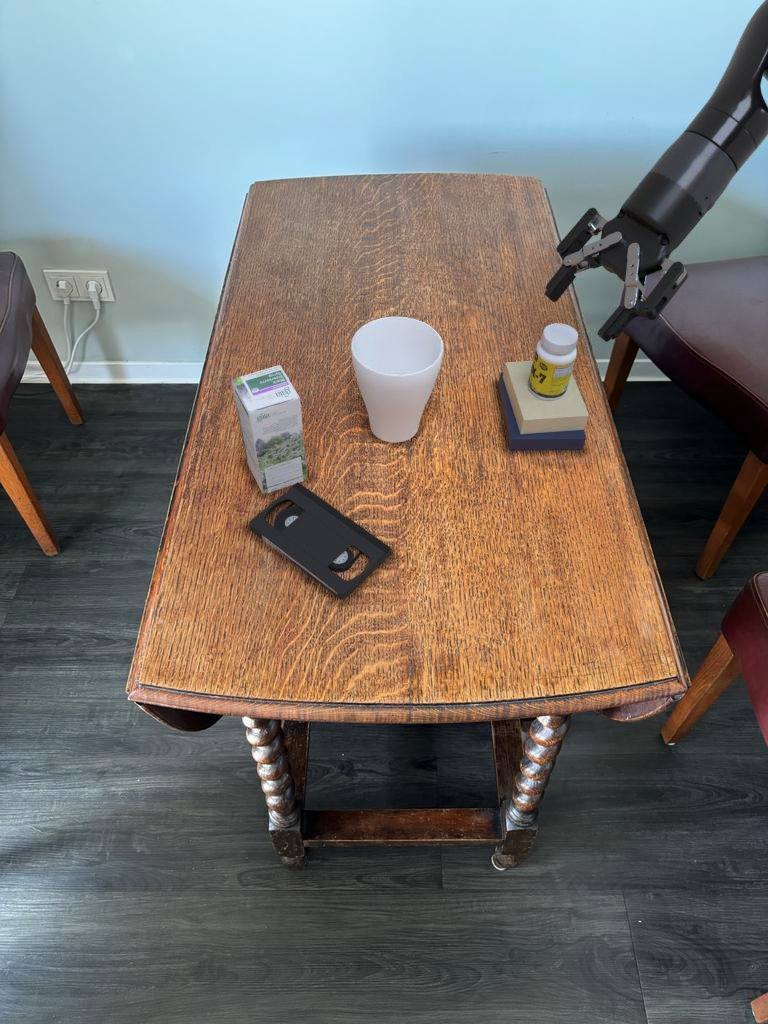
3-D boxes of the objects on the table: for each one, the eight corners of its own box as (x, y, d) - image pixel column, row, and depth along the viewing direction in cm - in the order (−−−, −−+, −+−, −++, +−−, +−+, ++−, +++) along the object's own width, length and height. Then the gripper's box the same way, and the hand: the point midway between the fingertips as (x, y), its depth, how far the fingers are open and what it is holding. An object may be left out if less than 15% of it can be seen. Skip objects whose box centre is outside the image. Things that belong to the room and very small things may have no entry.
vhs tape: (249, 533, 82) (247, 522, 80) (299, 493, 85) (297, 482, 84) (342, 605, 76) (342, 595, 74) (391, 558, 80) (391, 548, 78)
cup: (350, 402, 95) (348, 317, 84) (429, 398, 96) (437, 313, 85) (355, 462, 88) (353, 378, 78) (440, 457, 89) (450, 373, 78)
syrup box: (291, 451, 89) (279, 360, 78) (309, 484, 86) (300, 394, 75) (247, 466, 88) (228, 375, 76) (264, 501, 85) (247, 411, 73)
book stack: (580, 454, 90) (591, 423, 85) (508, 455, 90) (515, 423, 85) (563, 388, 97) (572, 356, 93) (497, 389, 97) (503, 357, 93)
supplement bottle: (521, 379, 90) (533, 324, 83) (555, 372, 91) (570, 317, 84) (537, 405, 87) (550, 350, 81) (572, 397, 88) (589, 342, 81)
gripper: (618, 146, 77) (519, 274, 82) (724, 205, 70) (609, 341, 75) (638, 180, 83) (545, 298, 88) (738, 238, 76) (631, 362, 81)
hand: (575, 318), depth 82 cm, fingers open, 8 cm apart
